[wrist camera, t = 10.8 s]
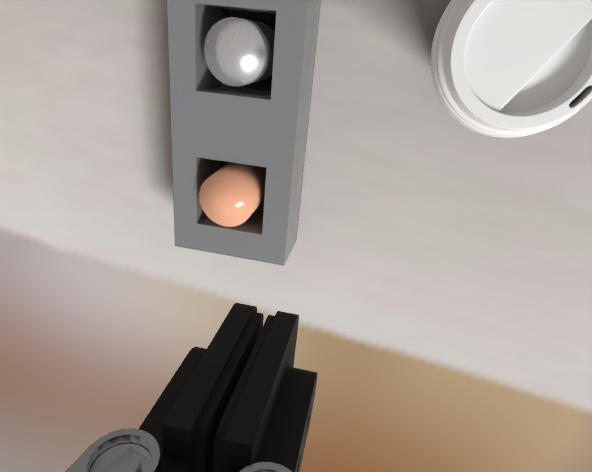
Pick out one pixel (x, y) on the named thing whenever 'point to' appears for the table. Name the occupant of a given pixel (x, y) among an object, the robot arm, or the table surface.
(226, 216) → the peach rounded cylinder
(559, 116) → the coffee cup
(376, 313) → the table surface
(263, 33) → the metal plunger
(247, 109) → the plunger housing
